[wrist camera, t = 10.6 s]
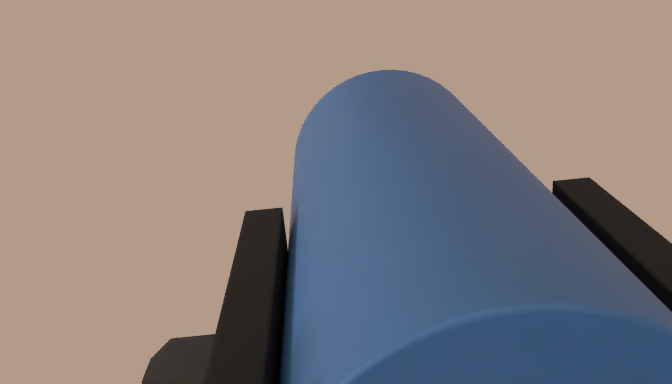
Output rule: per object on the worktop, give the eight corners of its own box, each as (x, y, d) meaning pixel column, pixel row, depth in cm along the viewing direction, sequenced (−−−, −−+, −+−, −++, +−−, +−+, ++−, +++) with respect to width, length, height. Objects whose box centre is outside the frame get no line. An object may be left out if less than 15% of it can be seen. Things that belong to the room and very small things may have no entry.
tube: (733, 662, 8) (813, 278, 6) (298, 706, 8) (233, 336, 6) (478, 235, 20) (476, 60, 18) (305, 252, 20) (284, 79, 18)
